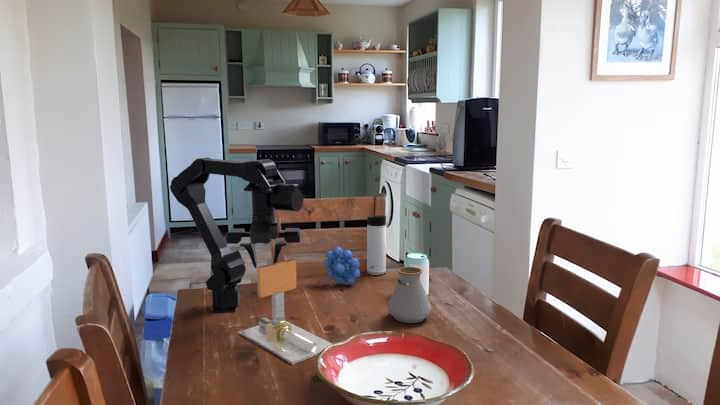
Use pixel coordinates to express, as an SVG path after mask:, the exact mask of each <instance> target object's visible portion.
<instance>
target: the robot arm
mask: <svg viewBox="0 0 720 405" xmlns="http://www.w3.org/2000/svg"><path fill="white" fill-rule="evenodd" d="M210 175H218V176H228V177H237V178H240V179H242V180H243V181H245V182H248V184H247V185H246V186H245V187H244V188H243V191H244V192H250V193H251V216H252V217H251V218H252V221H251V223H250V229H249V231H246V230H245V228H231V229H230V230H229V231H227V233H226V234H225V239H224V236H223V235H222V233H221V230H220V228H219V227H218V225H217V222H216V221H215V218H214V217H213V215H212V213H211V210H210V209H209V207H208V204H207V202H206V188H205V185H206V183H207V182H208V181H209V179H210ZM169 189H170V192H171V194H172V195H173V197H174V198H175V199H176V201H177V202H178V203H179V204H180V205H182V206H183V207H184V208H186V209H187V211H188V213H189V214H190V216H191V218H192V221H193V222H194V224H195V226H196V228H197V230H198V232H199V233H200V236H201V238H202V240H203V242H204V244H205V246H206V248H207V251H208V252H209V254H210V270H211V272H212V274H211V276H210V277H208V278H207V280H206V281H205V286H206V288H207V290H208V291H211V296H212V300H211V301H212V308H211V310H210V312H211V313H213V312H214V313H217V312H218V313H219V312H221V313H222V312H224V313H225V312H236V310H237V309H238V307H239V306H240V303H241V300H240V298H241V296H240V290H239V289H238V284H241V282H242V279H243V277H244V275H245V274H246V270H247V269H246V268H247V267H246V266H245V264H246V261H245V260H244V259H243V258H242V254H241V251H239V250H237V249H236V250H235V251H233V249H230V248H229V246H228V244H229V245H230V244H231V245H232V244H235V245H237V244H239V243H240V244H239V246H240V247H243V248H244V249H245V250H246V252H247V253H248V255H249V257H250V261H251V263H252V265H253V268H254V269H257V267H258V259H257V258H258V257H257V251H256V245H257V244H264V245H267V244H270V243H271V240H275V244H274V254H273V263H278V261H279V258H280V254H281V250H282V248H283V247H286V246H287V245H288V244H299V243H301V239H302V229H300V227H285V230H284V231H280V228H279V227H280V226H279V222H278V223H277V222H276V213H275V212H276V211H283V212H284V211H286V212H295V213H296V212H297V213H298V212H300V210H301V209H302V208H303V205H304V196H303V193H302V191H301V190H300V188H299V184H298V183H292V184H287V182H286V180H284V178H283V177H282V174H280V172H279V170H278V167H277V165H276V163H275V162H274V160H272V159H269V158H267V159H258V160H250V161H239V160H229V159H216V158H211V157H201V158H200V157H199V158H196V159H195V160H193V161H192V163H191V164H190V165H188V167H186V168H185V169H183V170H182V171H180V172H179V173H178V175H177V176H174V177H173V178H172V180H171V182H170V185H169ZM275 210H276V211H275Z"/></svg>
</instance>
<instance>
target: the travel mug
mask: <svg viewBox="0 0 720 405" xmlns="http://www.w3.org/2000/svg"><path fill="white" fill-rule="evenodd" d="M366 226H367V227H366V231H367V232H366V238H367V240H366V243H367V244H366V252H367V253H366V263H367V264H366V267H367V268H366V269H367V270H366V273H367V274H368V275H369V274H384V273H385V272H386V273H387V269H386V268H387V215H383V214H381V215H379V214H378V215H374V216H369V215H368V216H367V225H366ZM386 273H385V274H386ZM385 274H384V275H385Z"/></svg>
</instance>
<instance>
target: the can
mask: <svg viewBox="0 0 720 405" xmlns="http://www.w3.org/2000/svg"><path fill="white" fill-rule="evenodd" d="M404 267H416V268H420V269H422V273H421V275H420V280H421V282H422V285H423V287H424V290H425V292H426V295H427V296H428V295H429V292H430V291H429V288H430V286H429V284H430V283H429V282H430V280H429V276H430V261H429V258H428V255H427V254H425V253H420V252H417V253H416V252H413V253H407V255H406V258H405V260H404Z"/></svg>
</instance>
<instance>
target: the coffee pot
mask: <svg viewBox="0 0 720 405" xmlns="http://www.w3.org/2000/svg"><path fill="white" fill-rule="evenodd" d="M396 272H397V273H398V275H399V279H397V280H396V281H394V282H393V284H395V283H396V282H397V284H396V286H395V287H394V290H393V292H392V294H391V298H389V302H388V304H387V309H388V313H389V314H390V315H391V316H392V317H393V318H394V319H395V320H397V321H398V322H401V323H404V324H405V323H406V324H415V323H420V322H422V321H424V320H425V319H426V318H427V317H428V316H429V315H430V313H431V312H432V304H431V302H430V300H429V297H428V295H426V292H425V290H424V287H423V285H422V282H421V280H420V275H421V273H422V269H420V268H416V267H405V266H402V267H399V268H397V269H396Z"/></svg>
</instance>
